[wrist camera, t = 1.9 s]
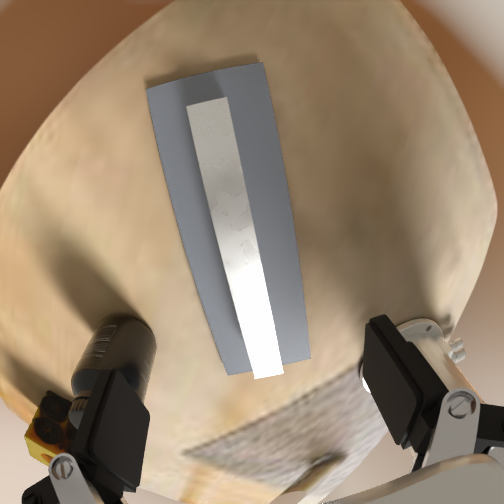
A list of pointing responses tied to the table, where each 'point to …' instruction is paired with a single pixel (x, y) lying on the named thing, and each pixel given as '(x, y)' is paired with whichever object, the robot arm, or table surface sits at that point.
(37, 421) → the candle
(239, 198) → the metal bar
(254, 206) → the board
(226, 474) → the table surface
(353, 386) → the table surface
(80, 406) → the supplement bottle
